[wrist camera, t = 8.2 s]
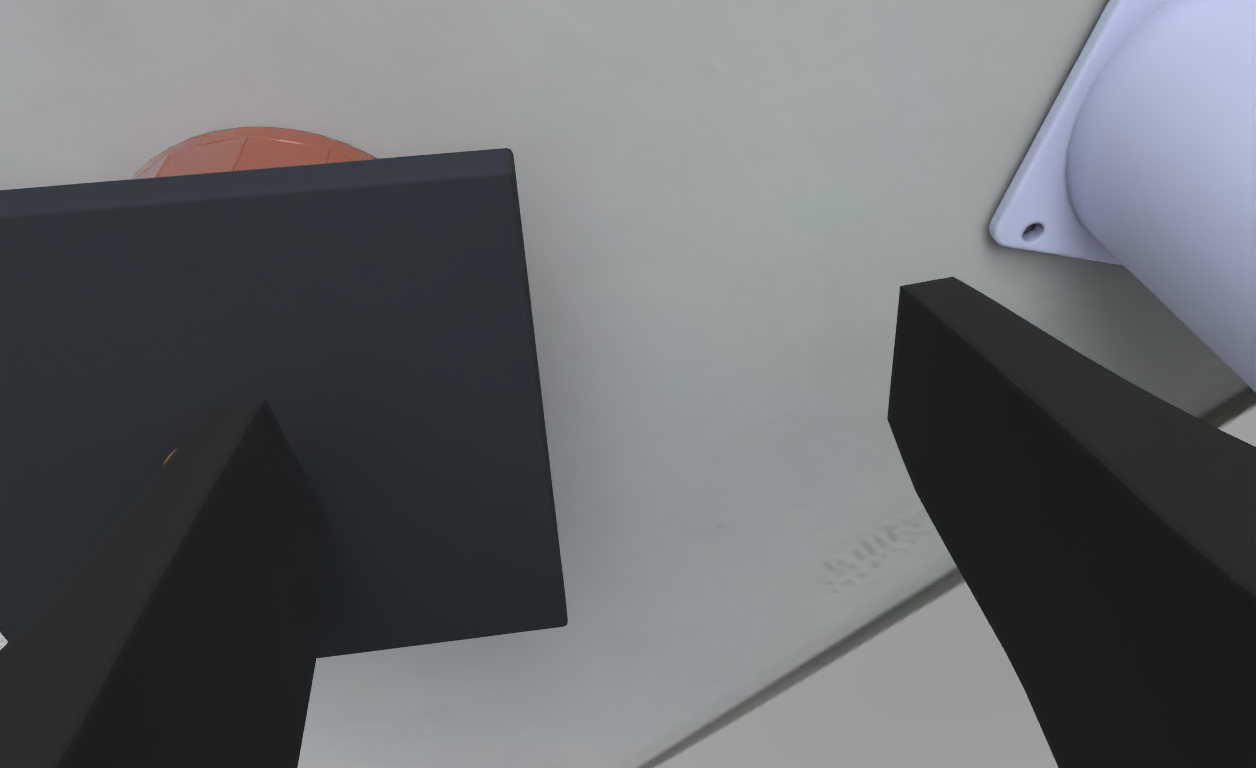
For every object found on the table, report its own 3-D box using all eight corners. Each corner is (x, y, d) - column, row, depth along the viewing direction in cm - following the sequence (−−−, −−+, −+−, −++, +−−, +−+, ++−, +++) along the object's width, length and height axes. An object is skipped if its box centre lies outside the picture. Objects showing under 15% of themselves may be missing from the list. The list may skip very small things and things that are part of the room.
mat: (511, 145, 13) (523, 295, 10) (565, 598, 20) (581, 766, 17) (-281, 211, 12) (-525, 396, 9) (60, 661, 20) (-15, 851, 16)
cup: (486, 158, 19) (490, 303, 15) (446, 427, 24) (440, 594, 20) (81, 94, 17) (-43, 239, 13) (124, 400, 22) (42, 579, 18)
